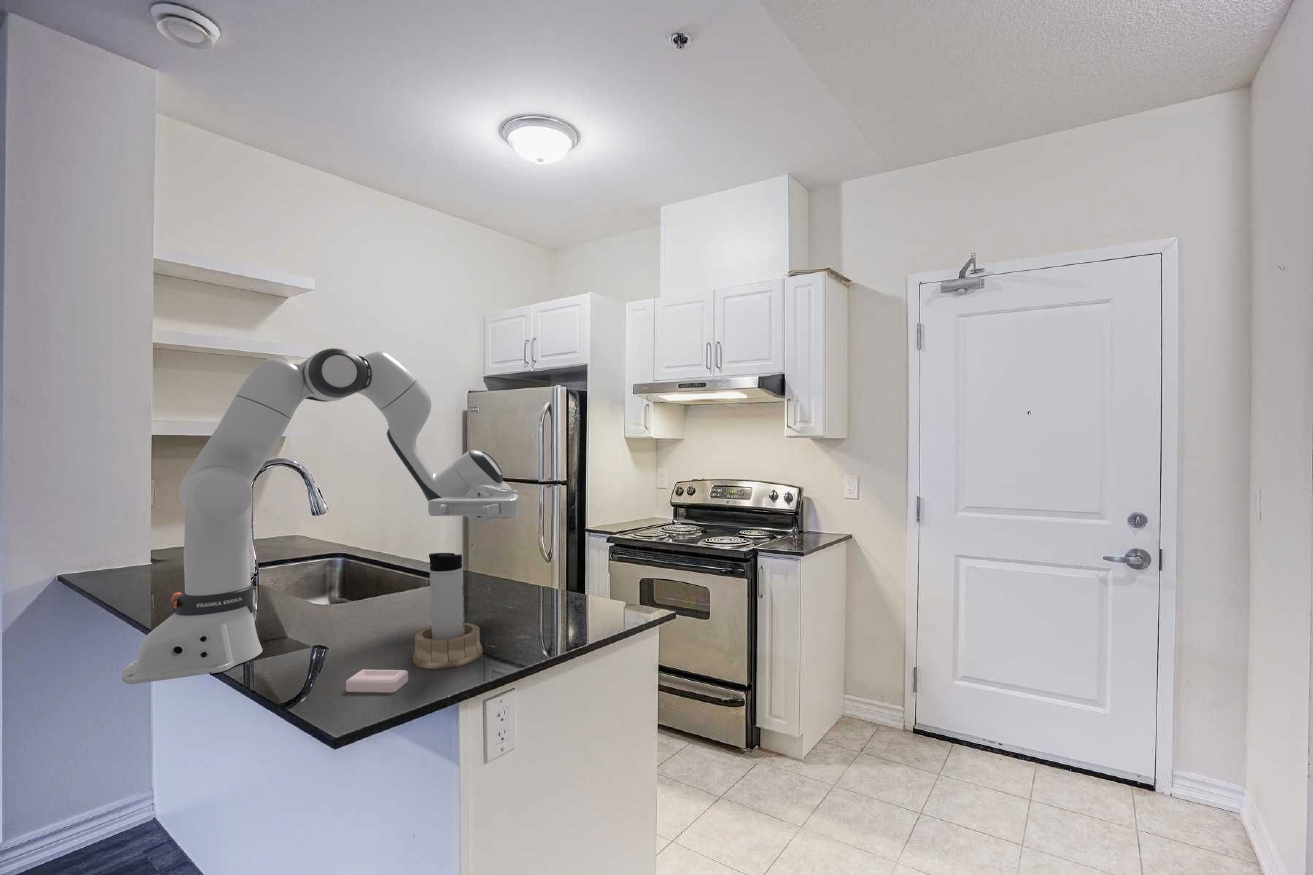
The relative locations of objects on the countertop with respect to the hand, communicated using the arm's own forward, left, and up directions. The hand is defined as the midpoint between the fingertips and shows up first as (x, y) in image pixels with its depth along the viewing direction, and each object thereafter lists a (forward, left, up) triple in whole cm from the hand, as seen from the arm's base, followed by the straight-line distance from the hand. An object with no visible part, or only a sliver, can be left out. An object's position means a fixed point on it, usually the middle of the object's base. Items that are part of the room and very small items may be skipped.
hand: (464, 510), depth 141 cm
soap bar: (-21, -17, -28) cm, 39 cm away
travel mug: (-7, -10, -27) cm, 29 cm away
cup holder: (-7, -10, -28) cm, 30 cm away
